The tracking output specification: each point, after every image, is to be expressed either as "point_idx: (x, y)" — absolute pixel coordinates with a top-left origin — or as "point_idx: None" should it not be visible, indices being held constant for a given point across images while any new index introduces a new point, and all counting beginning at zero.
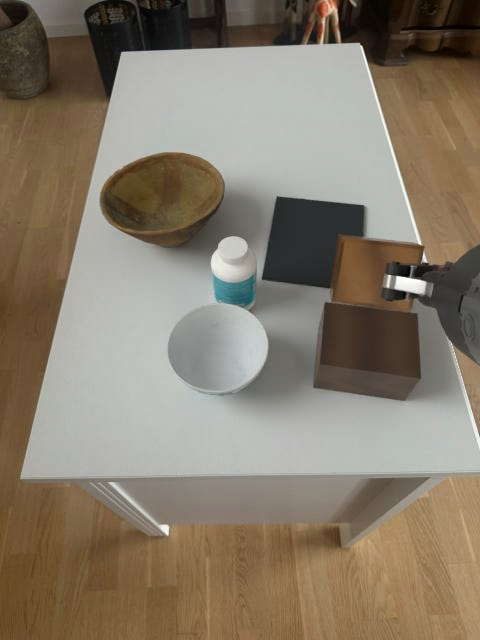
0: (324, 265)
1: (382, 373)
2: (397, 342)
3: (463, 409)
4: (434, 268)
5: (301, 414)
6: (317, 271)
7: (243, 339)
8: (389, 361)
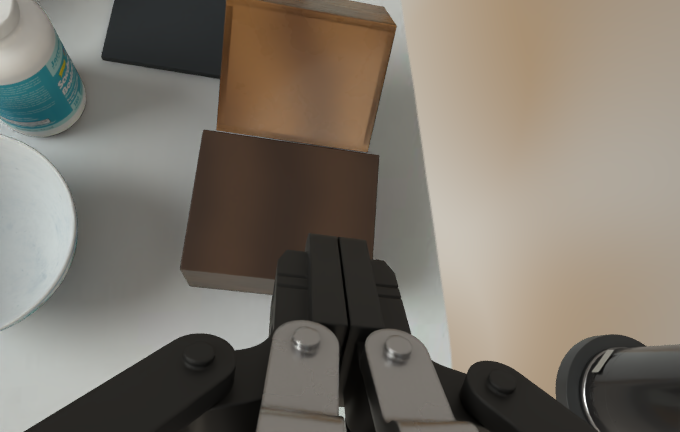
0: None
1: None
2: (335, 216)
3: (444, 311)
4: (307, 255)
5: (163, 340)
6: (215, 46)
7: (43, 199)
8: None
